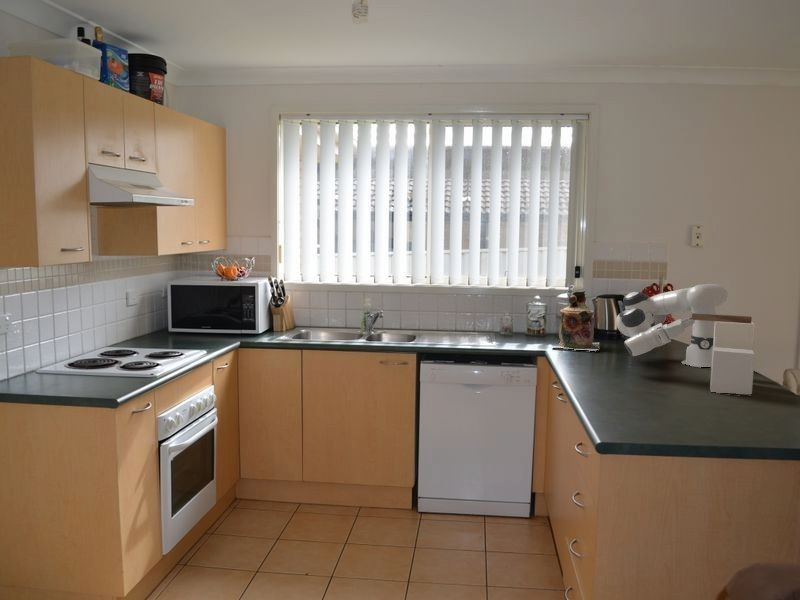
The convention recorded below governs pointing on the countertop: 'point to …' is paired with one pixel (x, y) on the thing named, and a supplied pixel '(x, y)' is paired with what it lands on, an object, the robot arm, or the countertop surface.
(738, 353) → the low stand
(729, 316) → the bar
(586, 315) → the cookie jar
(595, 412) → the countertop surface
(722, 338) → the tall stand
